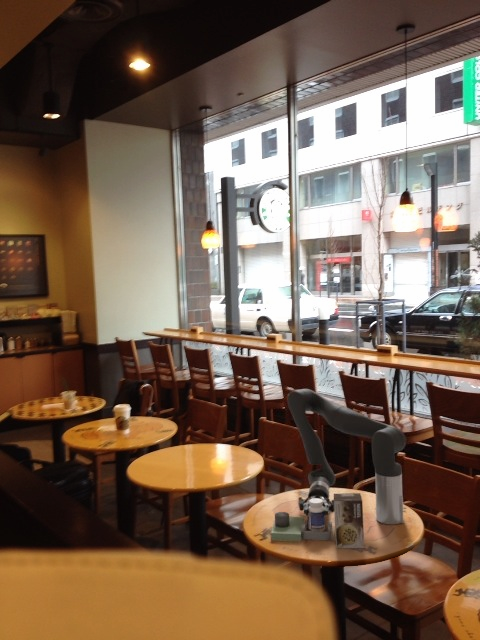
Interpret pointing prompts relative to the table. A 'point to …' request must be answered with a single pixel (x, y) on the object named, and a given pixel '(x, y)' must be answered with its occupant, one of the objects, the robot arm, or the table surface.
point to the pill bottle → (316, 515)
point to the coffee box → (348, 520)
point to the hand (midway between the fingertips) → (315, 513)
